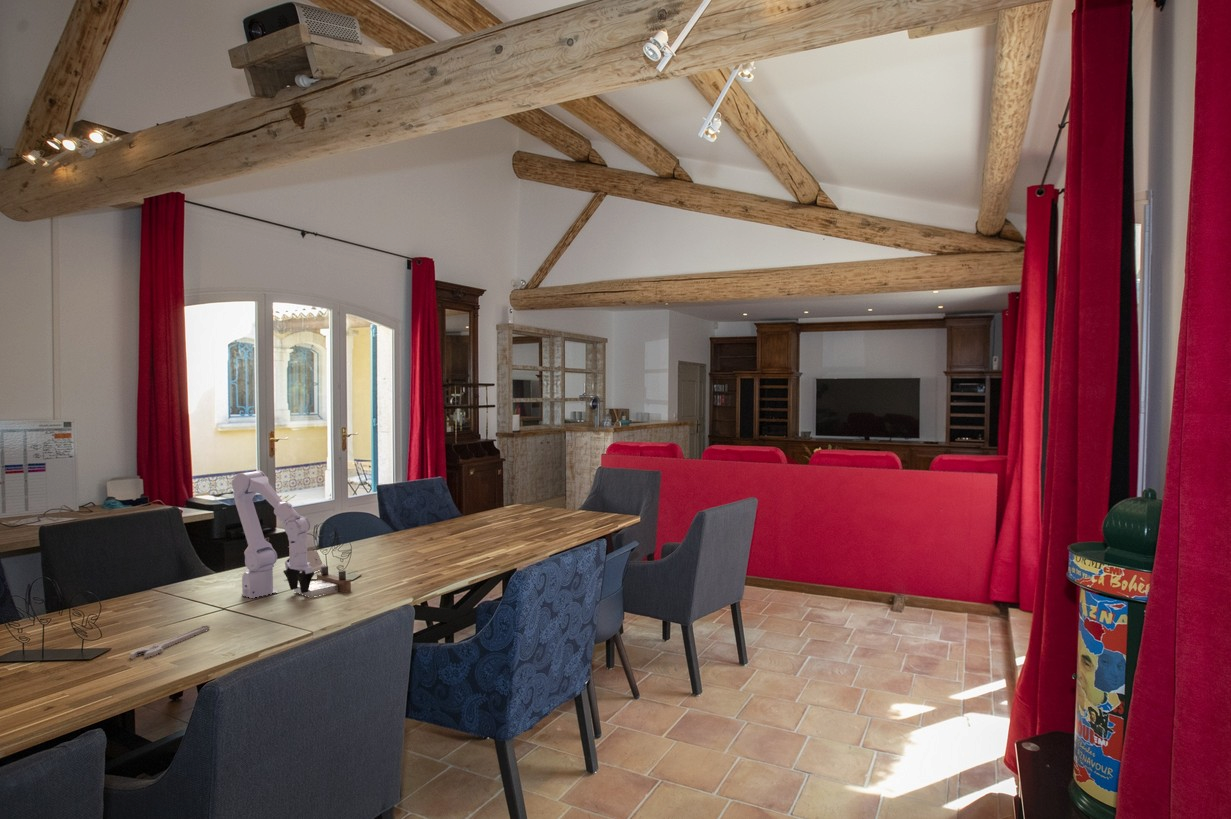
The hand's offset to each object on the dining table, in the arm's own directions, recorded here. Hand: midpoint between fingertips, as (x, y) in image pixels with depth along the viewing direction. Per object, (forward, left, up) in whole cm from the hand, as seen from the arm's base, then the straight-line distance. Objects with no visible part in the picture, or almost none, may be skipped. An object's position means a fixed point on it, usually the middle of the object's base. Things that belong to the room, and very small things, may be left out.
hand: (299, 590), depth 249 cm
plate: (+6, 0, -2) cm, 7 cm away
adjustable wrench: (-46, -18, -2) cm, 49 cm away
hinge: (+18, +30, -2) cm, 35 cm away
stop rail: (+13, 0, -2) cm, 13 cm away
